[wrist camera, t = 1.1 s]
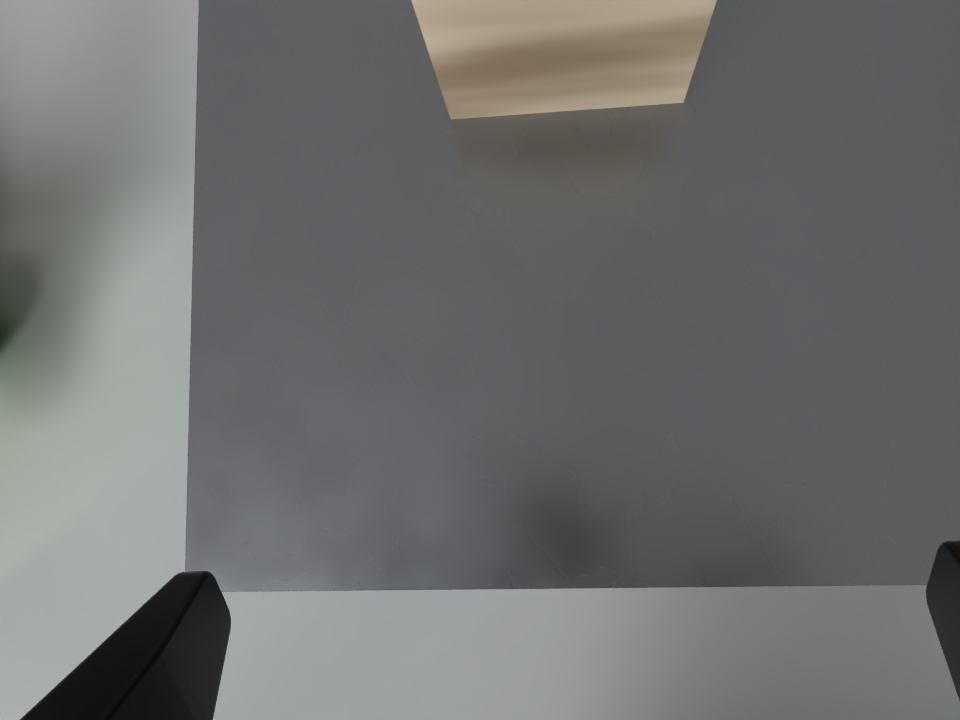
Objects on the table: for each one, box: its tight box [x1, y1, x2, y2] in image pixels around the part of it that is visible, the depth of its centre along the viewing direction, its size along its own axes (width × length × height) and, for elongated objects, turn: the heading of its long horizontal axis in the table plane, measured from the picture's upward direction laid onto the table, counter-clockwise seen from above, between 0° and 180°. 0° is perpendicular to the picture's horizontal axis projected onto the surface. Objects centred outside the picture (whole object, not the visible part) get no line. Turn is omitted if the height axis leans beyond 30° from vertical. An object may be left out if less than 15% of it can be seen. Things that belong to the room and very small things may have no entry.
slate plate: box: [185, 0, 960, 592], centre depth 22 cm, size 20×20×4 cm
